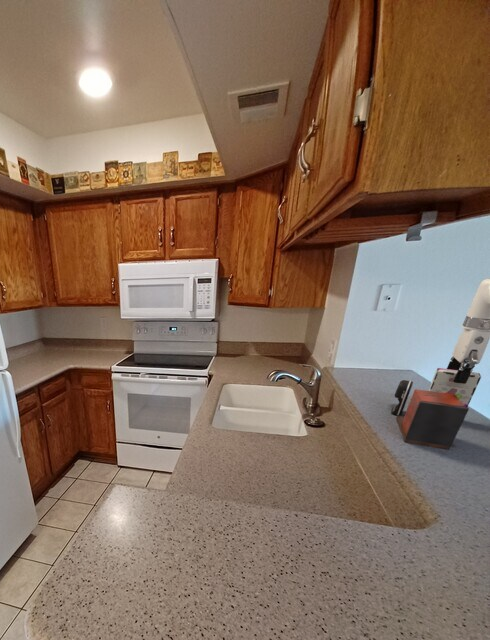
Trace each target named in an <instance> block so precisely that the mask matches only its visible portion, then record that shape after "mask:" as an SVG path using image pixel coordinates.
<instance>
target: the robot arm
mask: <svg viewBox="0 0 490 640" xmlns="http://www.w3.org/2000/svg"><path fill="white" fill-rule="evenodd" d="M467 311H468V312H467V313H466V316H465V318H464V320H463V322H462V325H461V328H462V329H463V330H462V332H461V334H460V335H459V338H458V339H457V341H456V344H455V346H454V349H453V352H452V356H451V358H450V360H449V363H448V364H447V367H446V369H451V370H458V371H457V374H456V376H455V378H454V380H453V382H454V383H462V384H466V382H467V380H468V378H469V376H470V374H471V372H474V368H475V367H476V365H478V364H481V361H482V359H483V356H484V353H485V352H486V349H487V346H488V345H489V341H490V278H485V279H483V280H482V281H481V282H480V283H479V285H478V287H477V291H476V293H475V295H474V297H473V299H472V301H471V305H470V306H469V308H468V310H467Z"/></svg>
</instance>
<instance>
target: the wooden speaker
mask: <svg viewBox="0 0 490 640" xmlns="http://www.w3.org/2000/svg"><path fill="white" fill-rule="evenodd" d="M469 410H470V408H469V406H468V407H465V406H464V405H463V403H462V402H461V401H460V400H459V399H458V398H457V396H456V395H455V394H449V393H441V392H433V391H428V390H424V389H416V388H414V391H413V393H412V395H411V398H410V401H409V403H408V406H407V409H406V412H405V414H404V416H402V415H396V418H395V419H396V422H397V424H398V429H399V431H400V433H401V437H402V439H403V442H404V443H408V444H414V445H419V446H426V447H430V448H435V449H440V450H442V449H443V450H445V451H446V450H447V451H450V450H451V447H452V446H453V443H454V441H455V439H456V437H457V435H458V433H459V431H460V429H461V426H462V424H463V422H464V421H465V418H466V416H467V415H468V412H469Z"/></svg>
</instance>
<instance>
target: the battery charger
mask: <svg viewBox="0 0 490 640" xmlns="http://www.w3.org/2000/svg"><path fill="white" fill-rule="evenodd" d="M413 384H414V381H412V380H406V379H403V380H400V382H399V383H398V386H397V388H396V390H395V393H394V398H395V399H397V401H398V403H397V404H396V405H395V406H392V408H391V411H390V413H391V414H392V415H395V416H402V414H403V412H404V408H405V406H406V404H407V400H408V398H409V395H410V393H411V390H412V387H413Z"/></svg>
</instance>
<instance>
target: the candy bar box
mask: <svg viewBox="0 0 490 640" xmlns="http://www.w3.org/2000/svg"><path fill="white" fill-rule="evenodd" d="M457 371H458V370H451V369H447V368H442V367H437V368H436V370H435V372H434V375H433V378H432V381H431V383H430V386H429V388H428V390H427V391H433V392H441V393H449V394H455V395H456V396H457V398H458V399H459V400H460V401H461V402H462V403H463V405H464V406H465V407H468V408H469V405H470V402H471V401H472V399H473V396H474V394H475V392H476V390H477V387H478V385H479V383H480V381H481V379H482V375H481V374H480V372H474V371H472V372H471V374H470V376H469V378H468V380H467V382H466V384H462V383H454V382H453V380H454V378H455V376H456V374H457Z"/></svg>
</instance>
